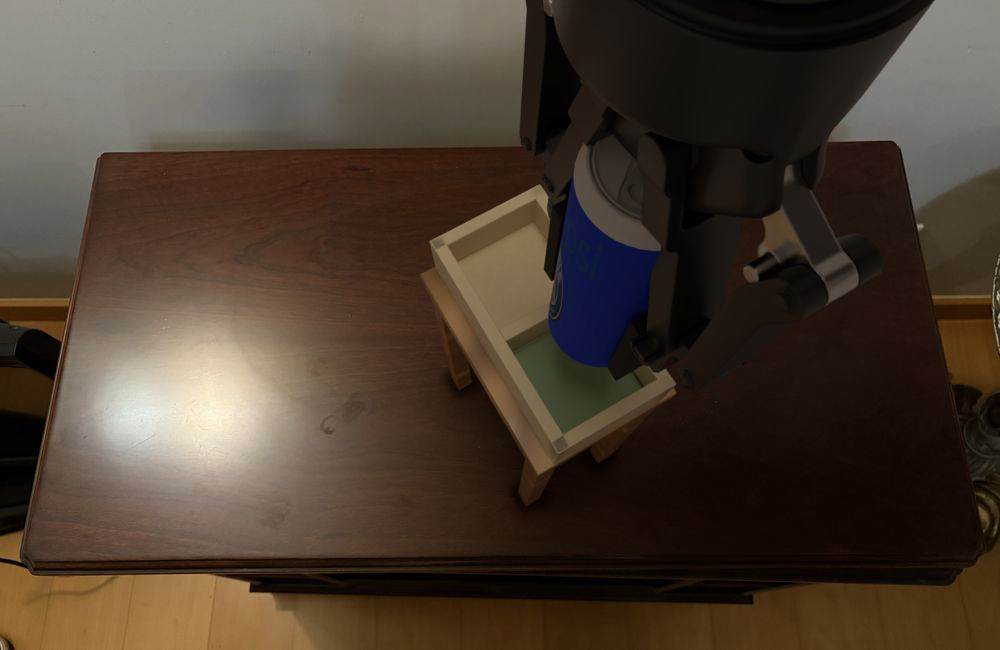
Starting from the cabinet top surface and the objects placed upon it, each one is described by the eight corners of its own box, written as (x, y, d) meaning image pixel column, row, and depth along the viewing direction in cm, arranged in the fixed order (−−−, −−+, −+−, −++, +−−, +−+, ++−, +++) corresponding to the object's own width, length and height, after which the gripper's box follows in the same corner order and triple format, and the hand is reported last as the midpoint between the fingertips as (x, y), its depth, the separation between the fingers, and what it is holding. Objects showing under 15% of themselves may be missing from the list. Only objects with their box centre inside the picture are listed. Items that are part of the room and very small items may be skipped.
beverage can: (578, 259, 37) (624, 68, 23) (665, 306, 36) (769, 138, 22) (528, 338, 36) (546, 187, 22) (618, 389, 35) (697, 266, 21)
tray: (661, 400, 43) (676, 384, 40) (553, 464, 42) (558, 454, 38) (537, 214, 48) (539, 183, 44) (435, 267, 46) (429, 240, 43)
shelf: (614, 456, 68) (677, 392, 44) (525, 510, 67) (538, 475, 42) (533, 329, 72) (550, 205, 48) (448, 376, 71) (419, 274, 46)
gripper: (360, -352, 15) (446, 201, 37) (962, 390, 9) (641, 516, 31) (661, -458, 16) (569, 139, 38) (1342, 148, 11) (777, 433, 33)
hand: (602, 310), depth 35 cm, fingers closed on beverage can, 5 cm apart
